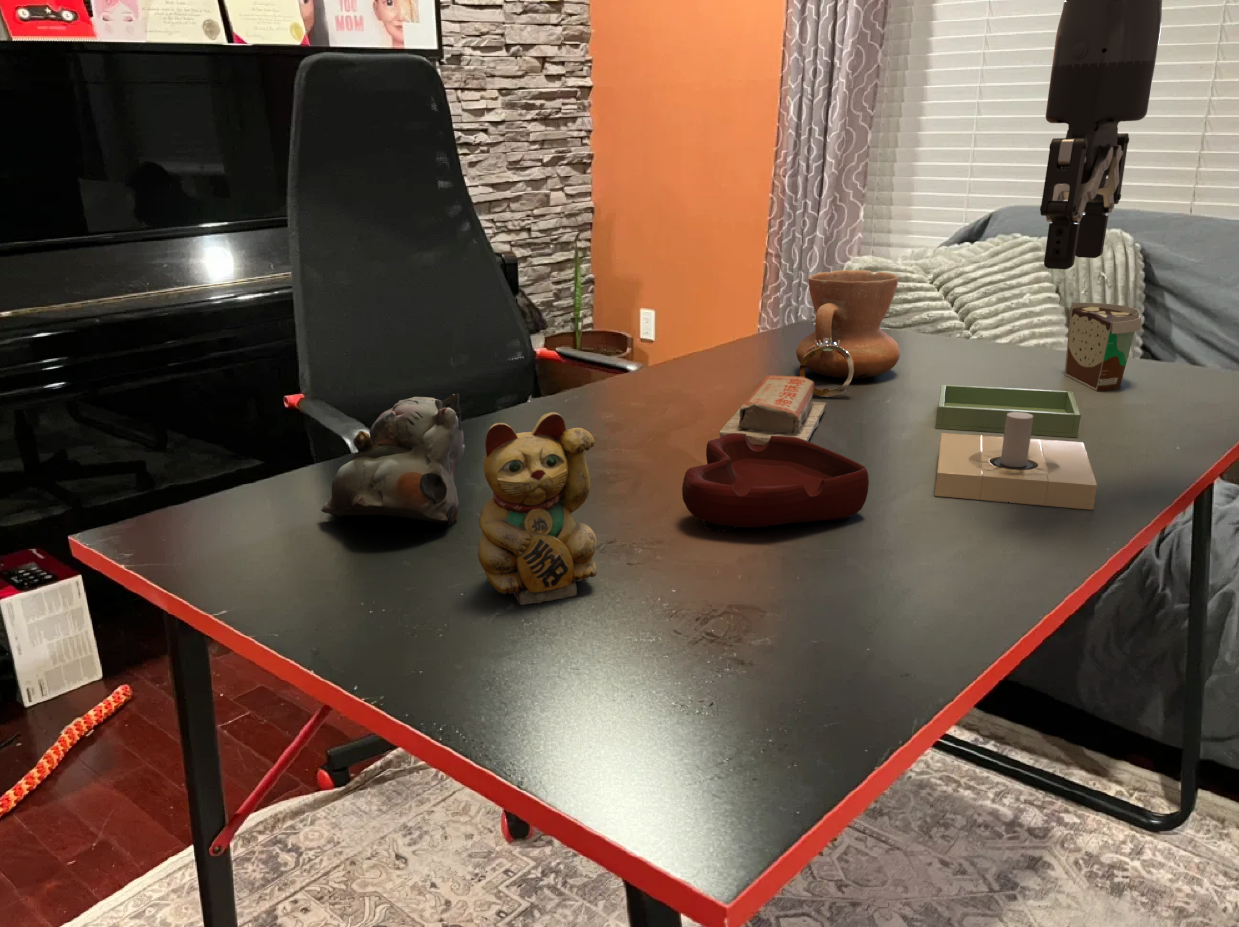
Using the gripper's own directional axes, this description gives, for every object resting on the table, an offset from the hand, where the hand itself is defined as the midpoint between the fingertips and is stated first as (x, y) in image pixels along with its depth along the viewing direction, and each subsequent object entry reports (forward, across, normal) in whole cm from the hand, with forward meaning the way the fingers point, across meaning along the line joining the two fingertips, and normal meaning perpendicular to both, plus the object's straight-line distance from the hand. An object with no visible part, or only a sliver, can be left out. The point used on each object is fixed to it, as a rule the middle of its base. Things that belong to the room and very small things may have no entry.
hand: (1073, 262), depth 88 cm
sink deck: (+23, +6, +4) cm, 24 cm away
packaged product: (+23, +9, +33) cm, 42 cm away
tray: (+23, +27, +12) cm, 38 cm away
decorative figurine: (+23, -42, +26) cm, 55 cm away
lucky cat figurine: (+23, -39, +48) cm, 66 cm away
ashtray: (+23, -16, +19) cm, 34 cm away
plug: (+23, +4, +4) cm, 23 cm away
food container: (+23, +54, +8) cm, 59 cm away
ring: (+23, +26, +35) cm, 49 cm away
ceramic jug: (+23, +39, +39) cm, 60 cm away
